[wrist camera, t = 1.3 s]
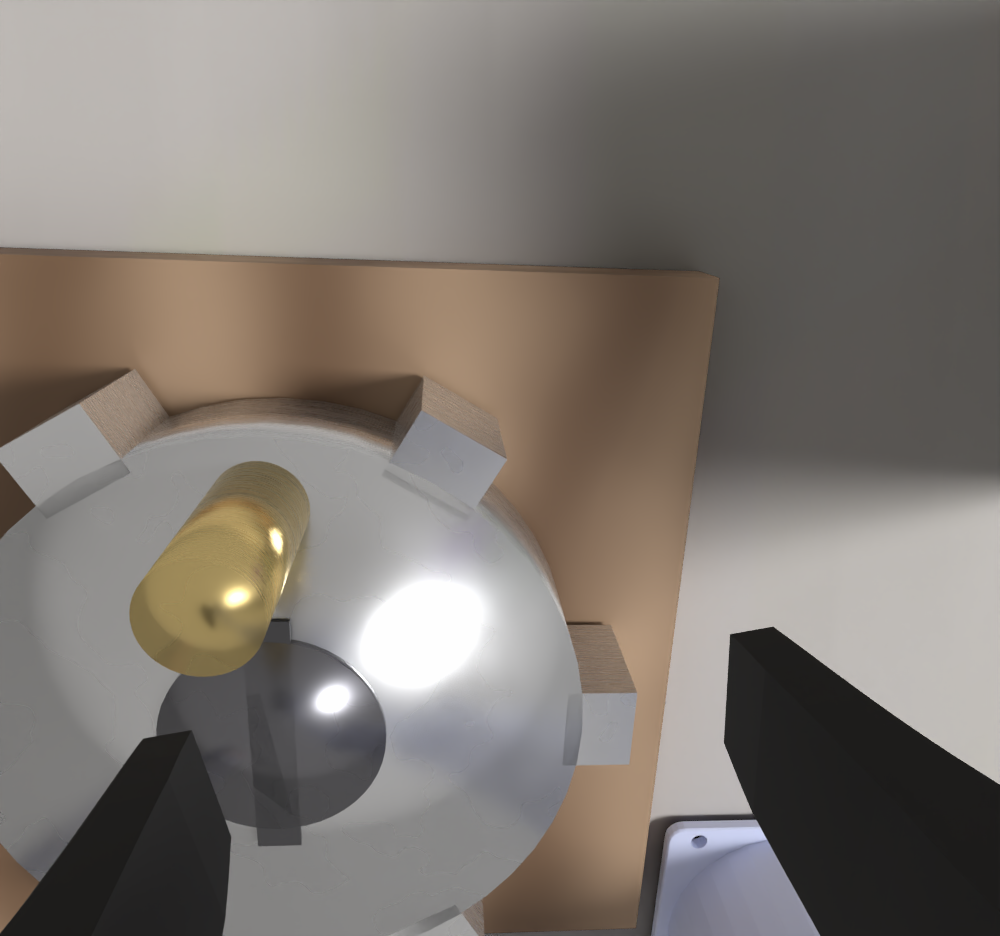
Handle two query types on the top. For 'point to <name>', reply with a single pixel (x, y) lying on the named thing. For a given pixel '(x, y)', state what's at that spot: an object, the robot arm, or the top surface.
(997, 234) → the top surface
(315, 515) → the gear wheel
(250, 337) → the base plate
